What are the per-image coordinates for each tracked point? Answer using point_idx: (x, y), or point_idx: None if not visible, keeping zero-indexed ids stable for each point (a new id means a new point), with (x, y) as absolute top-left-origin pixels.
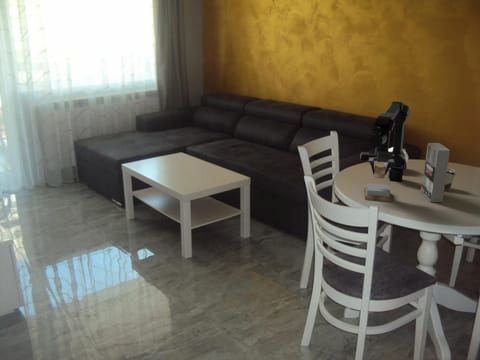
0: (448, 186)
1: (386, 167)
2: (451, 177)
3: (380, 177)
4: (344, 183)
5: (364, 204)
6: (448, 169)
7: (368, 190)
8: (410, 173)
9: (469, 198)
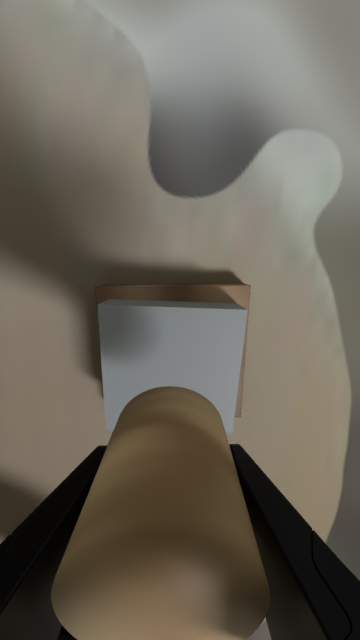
0: None
1: (34, 590)
2: None
3: (158, 393)
4: (314, 476)
5: (254, 194)
6: None
7: (240, 308)
8: None
9: None
